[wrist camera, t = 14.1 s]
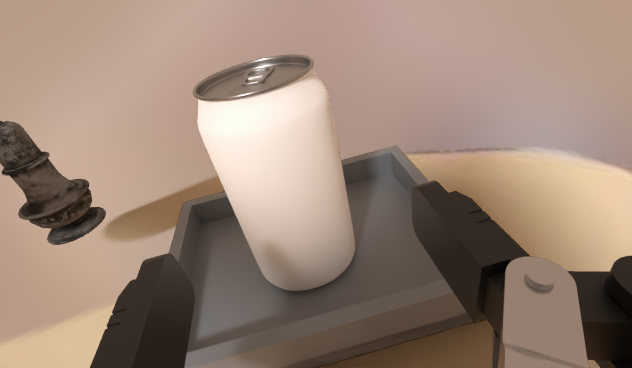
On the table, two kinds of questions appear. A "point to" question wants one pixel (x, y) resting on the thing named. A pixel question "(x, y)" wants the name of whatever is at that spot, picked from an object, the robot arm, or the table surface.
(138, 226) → the table surface
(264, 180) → the can
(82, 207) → the salt shaker
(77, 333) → the table surface
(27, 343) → the table surface
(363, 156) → the tray
